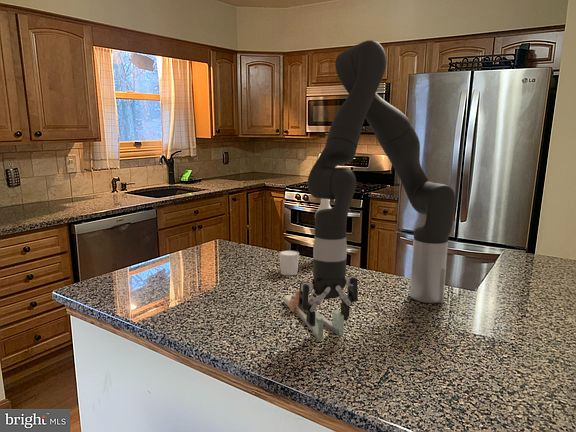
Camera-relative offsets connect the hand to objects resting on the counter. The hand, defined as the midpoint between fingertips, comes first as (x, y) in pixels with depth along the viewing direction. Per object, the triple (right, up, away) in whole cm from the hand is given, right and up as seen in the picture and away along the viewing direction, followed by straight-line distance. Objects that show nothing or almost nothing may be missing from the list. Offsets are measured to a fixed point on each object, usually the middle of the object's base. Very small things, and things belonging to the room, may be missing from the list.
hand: (328, 322), depth 100 cm
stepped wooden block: (-6, 0, +15) cm, 16 cm away
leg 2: (-1, -2, +9) cm, 9 cm away
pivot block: (-7, 0, +18) cm, 19 cm away
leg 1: (-5, -2, +7) cm, 9 cm away
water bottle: (+4, +8, +58) cm, 58 cm away
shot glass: (-9, +5, +45) cm, 46 cm away
